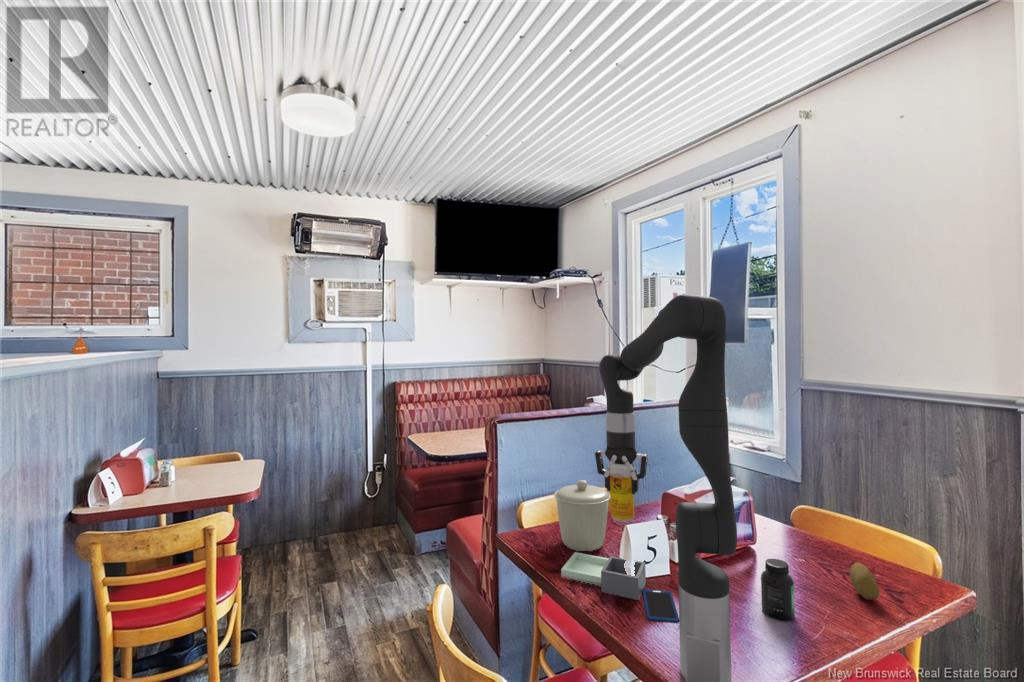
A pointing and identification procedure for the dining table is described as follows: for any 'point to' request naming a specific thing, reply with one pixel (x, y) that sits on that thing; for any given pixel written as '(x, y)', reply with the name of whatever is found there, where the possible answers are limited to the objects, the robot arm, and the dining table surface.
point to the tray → (584, 568)
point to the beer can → (621, 493)
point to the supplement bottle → (777, 590)
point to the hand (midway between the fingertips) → (621, 491)
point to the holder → (623, 579)
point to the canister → (582, 515)
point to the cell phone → (660, 606)
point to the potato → (864, 581)
